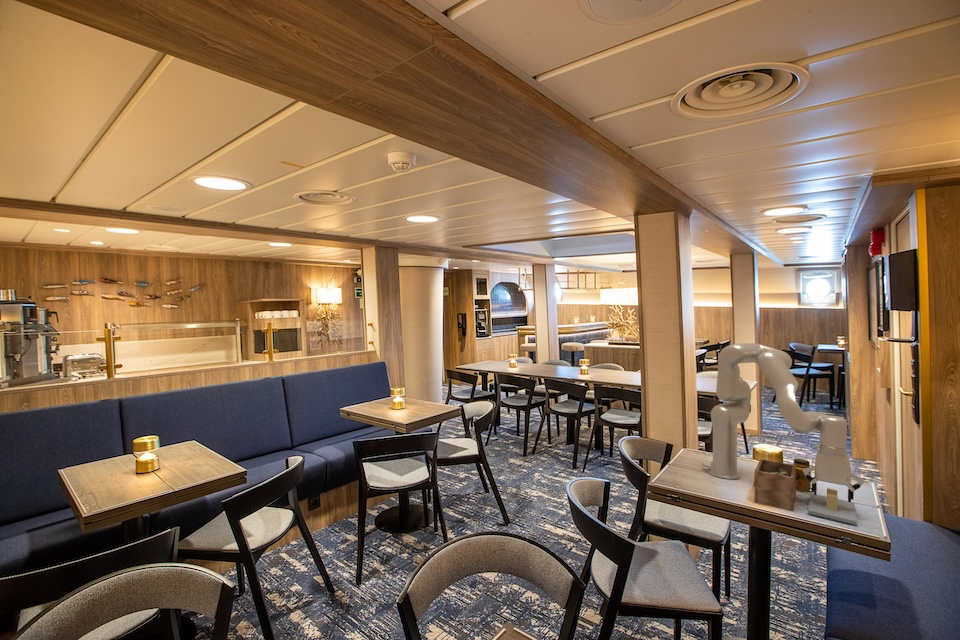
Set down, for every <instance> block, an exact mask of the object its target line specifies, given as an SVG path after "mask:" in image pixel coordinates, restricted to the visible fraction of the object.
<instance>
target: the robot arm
mask: <svg viewBox="0 0 960 640" xmlns="http://www.w3.org/2000/svg"><path fill="white" fill-rule="evenodd" d="M717 359H718V360H717V377H716V386H715V387H716V388H715V392H716V396H717V398H718V399H719V400H721V401H723V402H726V403H719V404H717V405H715V406H714V407H712V409H711V411H710V419H711V425H712V426H711V427H712V461H707V460H702V462H701V465H702V466H703V467H705V468H709V469H708V473H709V474H710V475H711V476H714V477H717V478H721V479H723V480H725V479H726V480H738V479H740V478H741V477H742V474H741V472H739V471H738V433H737V430H736V427H735V425H738V424H744V423H745V422H746V421H748V418H749V416H750V412H751V400H752V399H751V397H752V390H751V386H750V385H749V384H748V382H747V381H746V380H744V379H740V377H741V370H740V367H739V364H750V363H753V364H757V366H758V368H759V369H760V370H761V372H762V374H763V376H764V377H765V378H766V380H767V381H768V382H769V384H770V386H771V387H772V388H773V391H774V393H775V400H776V405H777V408H778V411H779V413H780V415H781V416H782V418H783V419H784V421H785V422H786V424H787V425H788V427H789V428H790V429H792V431H794V432H795V433H798V434H809V433H814V432H815V433H816V432H819V443H818V444H814V449H816V450H818V451H817V452H816V455H815V461H814V466H810V467H808V468H804V469H803V472H804V474H805V476H806V478H807V479H808V480H809V481H810V482H811V488H812V491H813V492H812V493H813V494H814V495H818V494H817V490H818V489H817V484H818V483H817V482H819V481H820V482H824V483H830V484H834V485H839V486H846V487H847V488H848V489H847V501H848V502H852V501H853V500H854V499H855V498H854V492H855V491H856V490H859V489H861V487H862V485H864V483H865V480H864V478H862V477H860V476H858V475H856V474H854V473H853V472H852V467H851V461H850V460H851V459H850V457H849V456H848V455H847V438H848V437H847V434H848V433H847V431H848V429H847V427H848V422H847V420H846V419H845V418H844V417H842V416H837V415H828V414H825V413H821V412H818V411H815V410H808V411H803V410H802V408H801V406H800V405H799V403H798V401H797V397H796V394H797V390H798V387H799V382H798V380H797V379H796V378H795V376H794V375H793V373H792V372H791V370H790V369H791V367H792V364H793V359H792V357H791V356H790V355H789V354H788V353H787V352H786V351H783V350H781V349H777V348H773V347H770V346H766V345H763V344H761V343H754V342H751V343H750V342H749V343H733V344H730V345H727V346H725V347H723V348H722V349H721V350H720V352H719V354H718V358H717ZM810 471H811V472H814V476H812V475H811V476H810V475H809V473H808V472H810ZM852 479H853V480H855V481H856V483H855V484H852Z"/></svg>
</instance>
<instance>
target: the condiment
mask: <svg viewBox="0 0 960 640" xmlns="http://www.w3.org/2000/svg"><path fill="white" fill-rule="evenodd" d="M810 464H811V463H810V461H809V460H808V459H803V458H794V459H793V465H796V492H800V493H804V494H808V495H809V494H810V493H811V494H813V493H814V492H813V491H810V489H811V490H812V483H811V482H810V481H809V480H808V479H807V478H806V476H805V474H804V472H803V469H804V468H808V467H811V465H810ZM808 473H809V475H810V476H811V477H812V471H810V472H808Z"/></svg>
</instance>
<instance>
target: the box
mask: <svg viewBox="0 0 960 640" xmlns="http://www.w3.org/2000/svg"><path fill="white" fill-rule="evenodd" d="M780 469H782V470H784V471H786V472H787V473H788V475H789V477H788V476H783V475H778V474H772V473H769V472H778V471H780ZM796 494H797V491H796V465H794V464H790V463H785V462H779V461H775V460H768V459H763V458H759V461H758V463H757V465H756V468H755V470H754V503H755V504H756V503H757V504H759V505H763V506H764V505H765V506H768V507H773V508H778V509H781V510H787V511H790V512H794V511H795V505H796V503H795V502H796V498H797V497H796V496H797V495H796Z"/></svg>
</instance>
